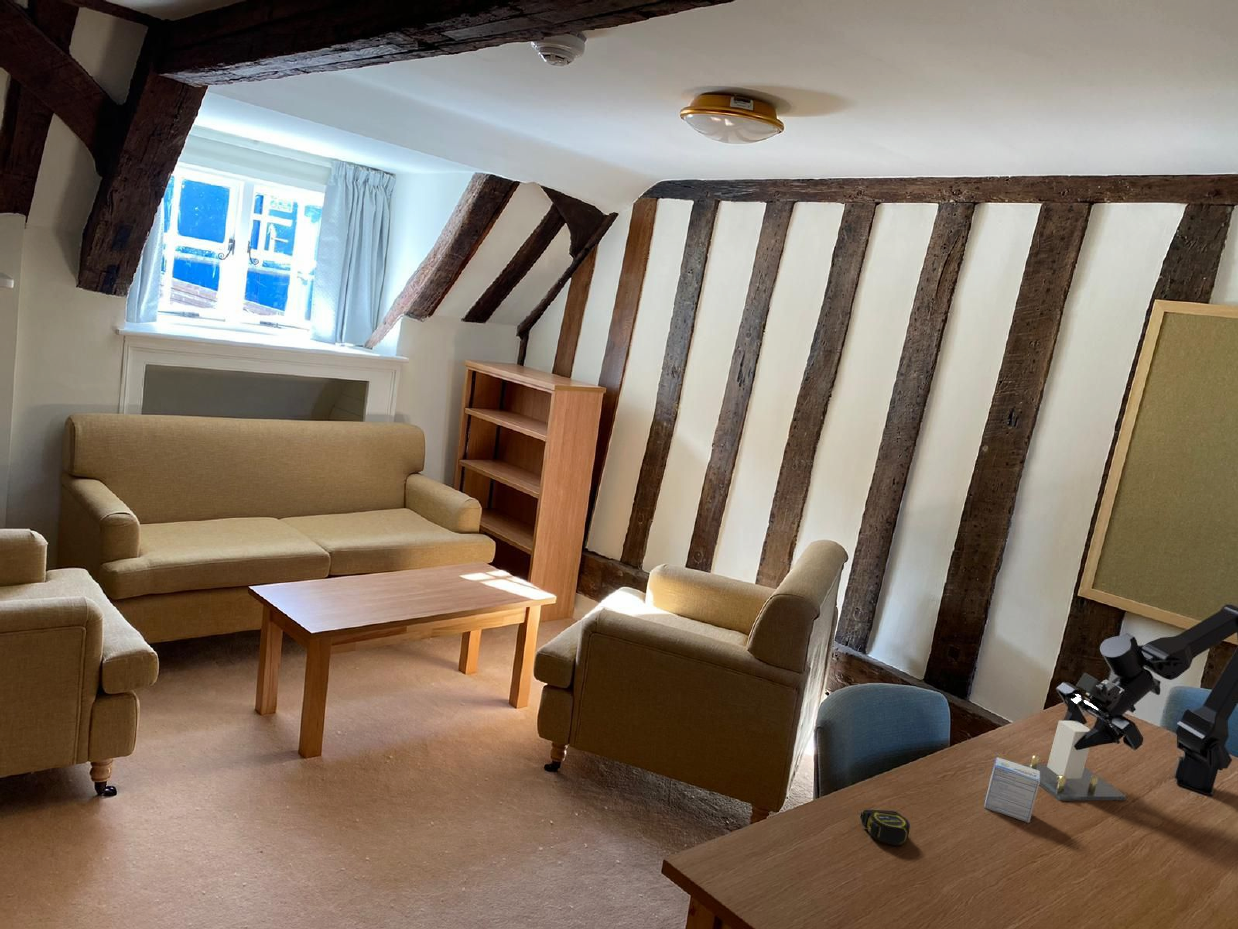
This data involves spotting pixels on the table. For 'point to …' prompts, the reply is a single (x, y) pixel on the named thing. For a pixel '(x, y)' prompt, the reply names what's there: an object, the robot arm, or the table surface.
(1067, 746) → the block
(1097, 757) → the table surface
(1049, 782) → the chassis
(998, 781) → the medicine box
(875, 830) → the tape measure
